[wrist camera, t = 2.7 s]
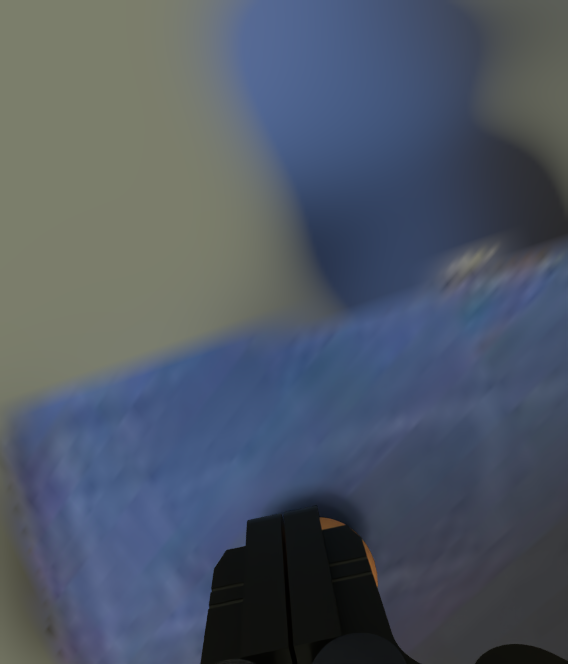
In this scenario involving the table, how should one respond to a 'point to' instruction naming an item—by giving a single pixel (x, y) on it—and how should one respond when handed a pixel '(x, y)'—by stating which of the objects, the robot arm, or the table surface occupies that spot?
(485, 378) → the table surface
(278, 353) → the table surface
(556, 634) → the table surface
